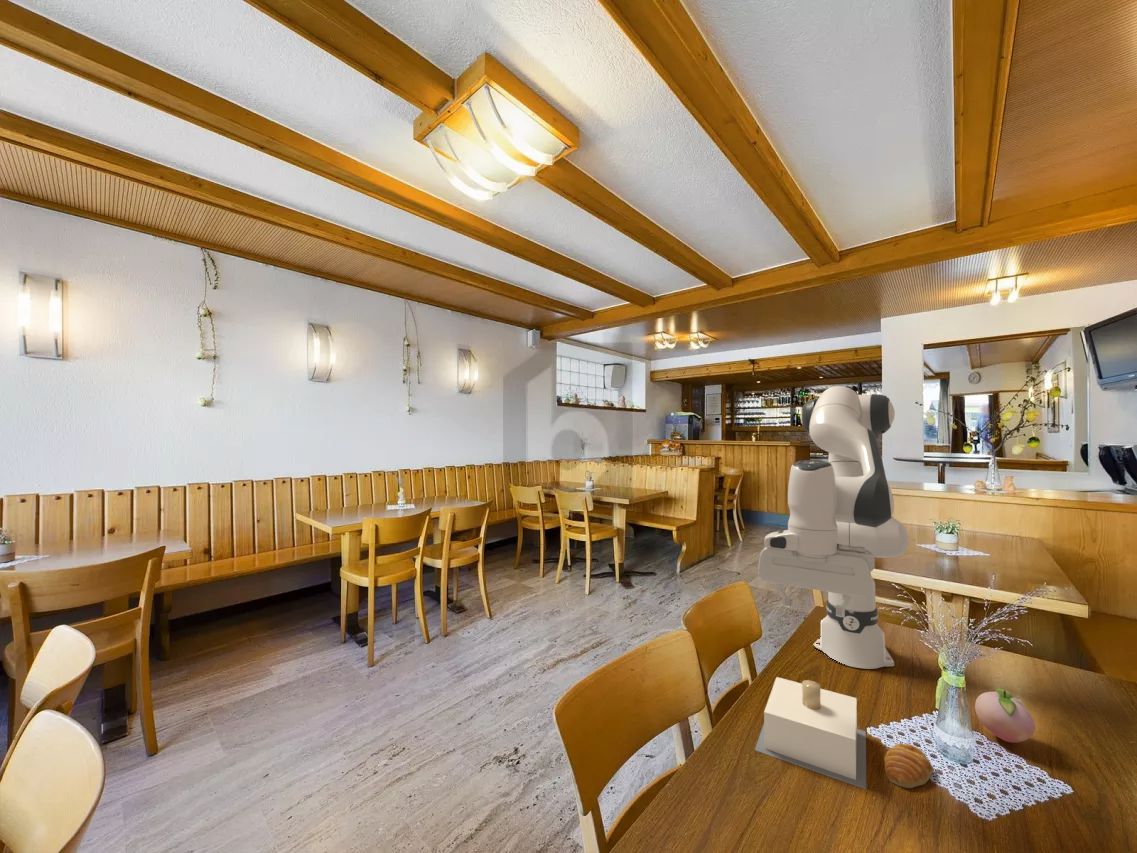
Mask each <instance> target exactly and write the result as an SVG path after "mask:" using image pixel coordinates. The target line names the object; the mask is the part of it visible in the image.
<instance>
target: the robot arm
mask: <svg viewBox="0 0 1137 853" xmlns="http://www.w3.org/2000/svg"><path fill="white" fill-rule="evenodd" d="M894 420H895V407H894V405H893V403H892V402H891V399H890V398H889V397H888V396H887V395H883V394H878V393H872V394H870V395H869V394H858V393H857V392H856V391H855V390H853V389H852V388H850V387H848V386H843V385H836V386H831V387H828V388H827V389H825V390H824V391H823V392H822V393H821V394H820V395H819V397H818V398H814V399H810V400H808V401H806V402H805V403H804V404H803V406H802V409H801V412H800V422H801V424H802V427H803V429H804V431H805V432H806V433H808V434H809V436H810V438H811V440H812V441H813V443H814V444H815V445H816V446H817V447H818V448H820V449H821V450H823V451H824V452H827V453H828V457H827V458H828V461H825V460H818V459H806V460H798V461H796V462H794V463H793V464H792V465H791V467H790V471H789V477H788V479H789V480H788V487H787V506H788V508H789V509H788V510H789V519H788V521H787V529H784V530H778V531H772V532H770V533H768V534H767V535H765V537H764V540H763V544H764V547H763V549H762V550H761V551H760V554H759V559H758V567H757V576H758V578H759V579H760V581H761V582H764V583H771V584H776V590H777V592H778V593H779V594H778V595H780V597H781V598H782V603H781V604H782V607H786V608H791V607H792V596H788V595H787V594H786V591H785V590H784V589H785V588H786V586H790V587H791V586H792V587H796V588H802V589H807V590H815V591H821V592H827V593H828V594H827V597H828V598H827V600H826V604H825V609H826V616H825V617H823V619H821V620H820V636H821V637H820V636H819V637H820V639H818V638H817V639H816V641H815V642H814V643H813V644H812V646H813V645H814V646H815V647H816V648H818V649H820V650H822V651H823V652H824V653H826V654H827V655H828V656H829V657H830V658H832V659H834V660H836V661H838V662H837V663H839V662H840V664H841V663H842V665H844V664H845V665H844V666H848V667H851V668H857V669H865V670H873V669H874V670H876V669H879V668H884V667H894V666H895V661H894V659H893V657H892V656H891V654H890V653H889V651H888V650H887V648H886V640H885V639H886V638H885V637H886V635H885V632H884V631H883V629H882V628H881V627H880V626H879V625H878V622H879V621H878V620H879V613H878V612H879V611H878V608H877V607H876V582H875V579H874V577H873V576H872V571H874V569H875V568H876V564H875V563H876V560H875V559H876V558H878V559H880V558H881V559H887V558H899V557H902V556H903V555H904V554H905V553H906V552H907V550H908V548H909V544H910V537H909V533H908V531H907V528H906V527H905V526H904V524H902V522H900V520H898V519H896V518H895V517H893V515H894V514H893V513H894V510H895V500H894V495H893V493H892V492H893V491H892V489H891V488H890V486H889V483H888V479H887V477H886V471H885V466H884V463H883V459H882V458H883V457H882V453H881V448H880V445H879V442H878V440H879V436H881V435H883V434H885V433H886V432H887V431H889V430H890V429H891V428H892V424H893V422H894ZM816 643H820V645H819V644H816ZM829 657H828V658H829ZM830 658H829V659H830ZM832 659H831V660H832ZM834 660H833V661H834ZM836 661H835V662H836Z"/></svg>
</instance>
